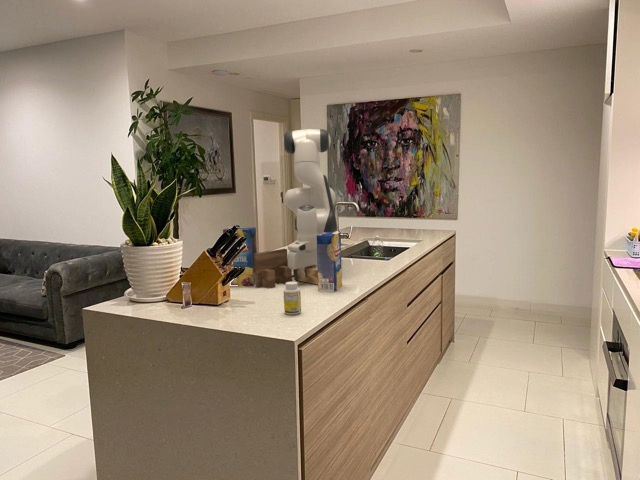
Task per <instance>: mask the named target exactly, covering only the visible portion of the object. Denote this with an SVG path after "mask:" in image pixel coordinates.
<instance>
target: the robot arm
mask: <svg viewBox="0 0 640 480" xmlns="http://www.w3.org/2000/svg"><path fill="white" fill-rule="evenodd" d="M331 143H332V139H331V136H330V133H329V131H328V130H327V129H324V128H323V129H322V128H320V129H315V128H306V129H298V130H293V129H292V130H287V131H285V133H284V134H283V137H282V147H283V149H284V151H285V152H286V153H288V154H290V155H294V156H293V168H294V176H295V178H296V180H298V182H300V183H301V184H304V185H306V186H308V187H296V188H290V189H288V190H287V191H285V194H284V203H285V206H286V207H287V208H288V209H289V210H291V211H292V212H293V213H294V215H296V216H295V217H294V230H295V231H296V232H297V237H296V240H295V241H293V242H292V243H290V244H288V246H287V258H288V267H289V268H290V269H292V270H293V269H299V270H300V272H301V273H302V278H305V277H307V273H305V271H304V270H305V267H308V266H311V267H317V268H318V264H317V235H319V234H321V233H323V232H337V230H338V226H339V221H338V216H337V215H336V212H335V208H334V205H335V203H336V198H337V197H336V193H335V190H333V188H331V187H330V184H329V180H328V178H327V175H325V174H323V173H322V170H321V162H320V161H321V160H320V159H321V158H320V153H322V154H323V153H324V152H325V153H326V152H327V151H328V150H329V149H330V147H331ZM323 209H324V210H323ZM317 210H323V211H317Z"/></svg>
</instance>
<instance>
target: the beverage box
mask: <svg viewBox="0 0 640 480" xmlns="http://www.w3.org/2000/svg"><path fill="white" fill-rule="evenodd" d="M341 235H342V234H341V232H340V231H335V232H323V233H321V234H319V235H317V264H318V285H317V286H318V290H317V291H318V292H330V293H331V292H333V293H335V292H337V291H338V290H339V289H341V287H342V286H343V274H342V241H341V240H342V238H341Z"/></svg>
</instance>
